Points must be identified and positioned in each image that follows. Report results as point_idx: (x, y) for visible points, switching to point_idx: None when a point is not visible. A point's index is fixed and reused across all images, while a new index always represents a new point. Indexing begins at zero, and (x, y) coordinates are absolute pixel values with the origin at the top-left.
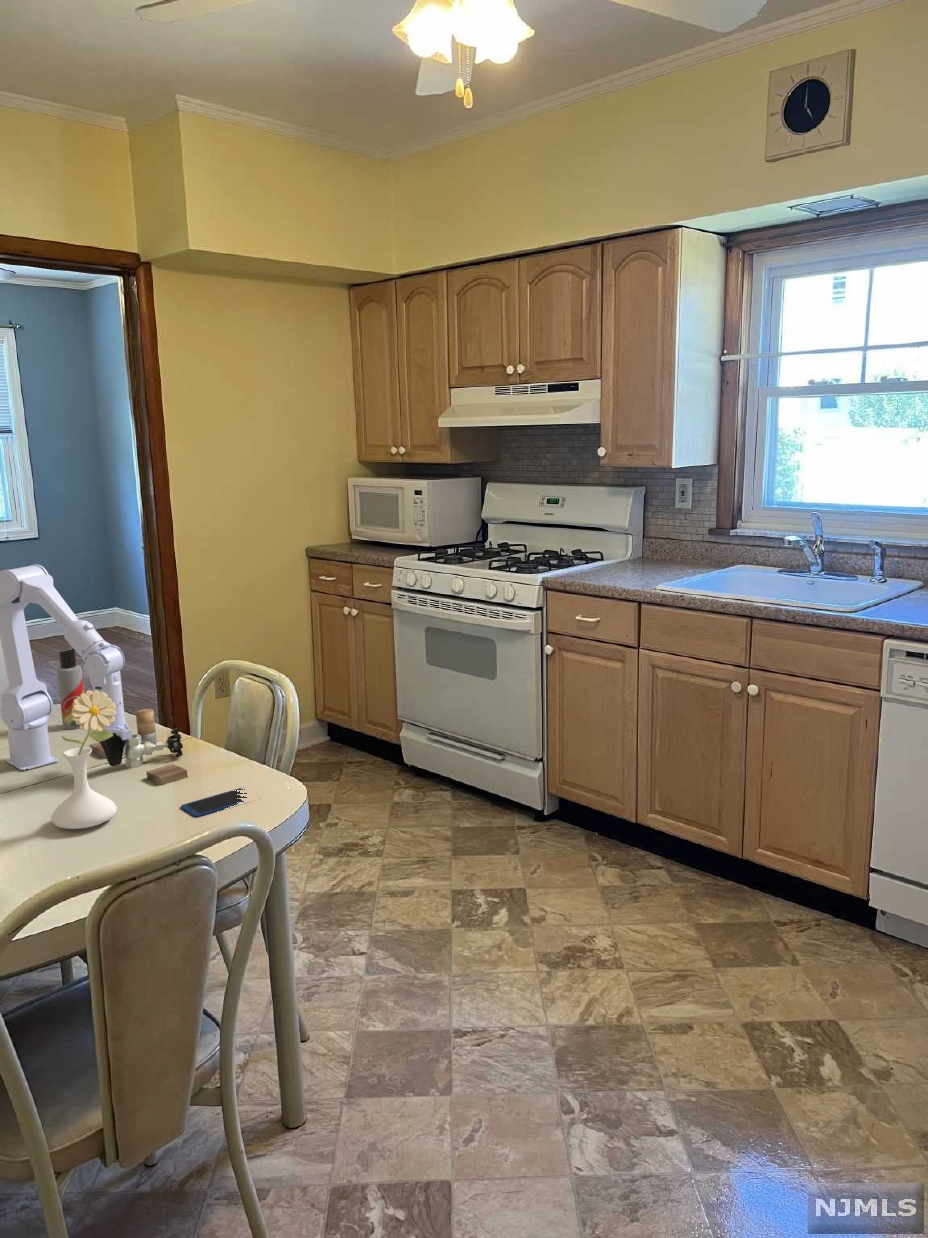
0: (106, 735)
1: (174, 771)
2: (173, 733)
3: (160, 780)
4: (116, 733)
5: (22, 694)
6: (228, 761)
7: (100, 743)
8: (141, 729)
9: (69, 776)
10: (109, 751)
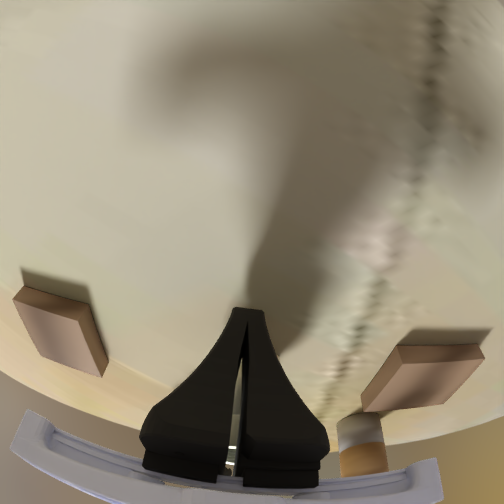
0: None
1: (43, 343)
2: (225, 470)
3: (16, 294)
4: (137, 468)
5: None
6: (99, 410)
7: (293, 398)
8: (361, 457)
9: (388, 162)
10: (202, 363)
